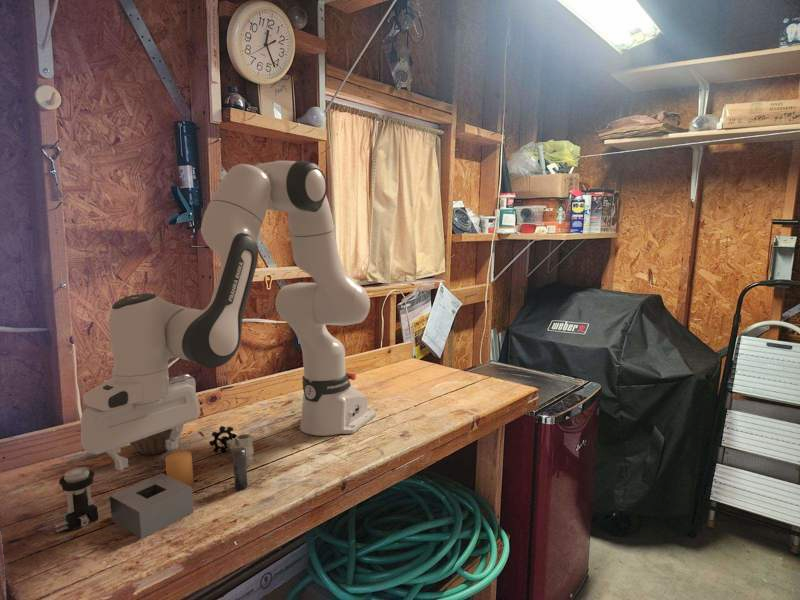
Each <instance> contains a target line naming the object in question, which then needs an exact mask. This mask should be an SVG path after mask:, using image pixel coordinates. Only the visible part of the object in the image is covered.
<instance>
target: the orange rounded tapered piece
mask: <svg viewBox="0 0 800 600" xmlns="http://www.w3.org/2000/svg"><path fill="white" fill-rule="evenodd" d="M193 470H194V469H193V457H192V453H191V452H189V451H178V452H177V451H175V452H173V453H170V454H169V455H167V456H166V457H165V472H166V476H169V477H171V478H173V479H175V480H178V481H180V482H182V483H184V484H186V485H189V486H192V485H191V484H192V483H193V484H194V473H193V472H194V471H193Z"/></svg>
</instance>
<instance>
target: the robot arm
mask: <svg viewBox="0 0 800 600" xmlns="http://www.w3.org/2000/svg"><path fill="white" fill-rule="evenodd" d="M327 186H328V183H327V178H326V175H325V174H324V172H323V171H322V168H320V167H319V165H318V164H316V163H314V162H310V161H306V160H298V161H295V160H275V161H269V162H263V163H262V162H257V163H253V164H247V163H239V164H236V165H233V166H232V167H230V169H228V171H227V173H226V174H225V175H224V177H223V178H222V180H221V181H220V183H218V186H217V188H216V189H215V191H214V193H213V195H212V196H211V200H210V201H209V202H208V204H207V206H206V209H205V212H204V214H203V217H202V221H201V226H200V233H201V236H202V238H203V241H204V242H205V244H206V245H207V246H208V248H209V249H210V250H211V251H213V252H214V253H215V254H216V255H218V257H219V259H220V270H219V272H218V276H217V280H216V283H215V285H214V288H213V293H212V296H211V300H210V302H209V304H208V305H207V306H206V307H205V308H204V309H197V308H192V307H186V306H181V305H179V304H174V303H172V302H170V301H167V300H165V299H163V298H161V297H160V296H158V294H155V293H150V292H149V293H148V292H147V293H140V294H131V295H128V296H125V297H123V298H121V299H119V300H117V301H116V302H114V303H113V304H112V306H111V309H110V312H109V320H108V332H109V333H108V334H109V348H110V352H111V354H112V356H113V366H112V371H111V372H112V373H111V374H112V377H111V378H109V379H108V380H106V381H104V382H102V383H101V384H99V385H98V386H97V385H96V386H95V387H94V388H92V389H90V390H89V391H86V392H85V393H84V394H83V396H82V401H83V403H84V405H86V408H85V410H84V411H83V412H82V415H81V420H80V440H81V441H80V443H81V444H80V445H81V447H82V448H83V449H84V451H86V452H88V453H90V454H92V455H96V456H98V455H100V454H103V453H107V454H108V456H110V457H111V459H112V460H114V468H115V470H117V471H119V472H121V471H123V470H125V469H128V468H129V466H130V465H129V464H128V463H129V458H127V457H125V456H123V455H122V456H120V455H119V453H121V452H122V449H121V448H122V446H123V447H124V446H126V445H130V444H129V443H132V442H134V441H137V440H140V439H143V438H146V437H149V436H151V435H154V434H157V433H160V432H163V431H166V430H168V429H171V430H172V432H171V435H170V438H169V439H168V440H166V441H165V442H166V449H167V450H166V451H170V452H171V451H174V450H177V449H178V448H179V439H180V437H181V435H182V432H183V430H184V425H186V424H188V423H191V422H193V421H197V419H198V418H199V416H200V413H201V412H200V405H199V399H198V395H197V392H196V385H197V383H196V379H195V378H194V377H193V376H192V375H190V374H188V373H184V374H180V375H178V376H170V377H169V360H170V359H175V358H178V359H180V360H181V359H182V360H186V361H189V362H192V363H194V364H196V365H199V366H201V367H203V368H208V369H211V368H212V369H213V368H214V369H215V368H220V367H222V366H223V365H225V364H227V363H228V362H230V360H232V359H233V357H235V355H236V354H237V352H238V349H239V348H240V345H241V341H242V330H243V328H242V327H243V319H244V312H245V309H246V305H247V302H248V298H249V294H250V291H251V289H252V288H251V287H252V284H253V279H254V276H255V273H256V268H257V264H258V261H259V260H258V259H259V247H258V244H257V243H258V237H259V234H260V231H261V228H262V226H263V223H264V219H265V217H266V214H267V212H268V211H273V212H286V213H287V220H288V221H287V222H288V230H289V237H290V243H291V250H292V257H293V261H294V263H295V265H296V267H297V268H298V269H300V270H301V271H303V272H304V273H306V274H307V275H309V276H310V277H311V278H312V279H313V281H314V282H296V283H291V284H285V285H283V286H282V287H281V288H280V289H279V291H278V293H277V294H276V295H277V296H276V297H275V309H276V311H277V314H278V316H279V317H280V319H282V320H283V321H284V322H285V323H287V325H289V326H290V327H291V329H292V330H293V331H294V333H295V335H296V337H297V339H298V341H299V345H300V347H301V352H302V362H303V376H302V382H301V383H302V391H303V395H302V407H301V408H302V409H301V415H300V417H299V420H300V424H299V429H300V431H301V432H303V433H305V434H308V435H313V436H322V437H323V436H333V435H341V434H342V435H343V434H345V435H347V434H354V433H355V432H356V431H358V430H359V429H361V428H362V427H363V426H364V425H365V424H367V423H368V422H369V421H371V420H372V419H373V418H374V417H375V416H377V412H376V410H374V409H373V408H371V407H368V399H367V397H366V395H365V394H364V392H362V391H360V390H358V389H357V388H356V387H354V386H353V385H351V382H350V380H352V381H355V380H356V378H357V373H356V372H351V371H350V372H349V371H348V373H347V371H346V349H345V346H344V345H343V343H342V341H341V340H339V339H338V338H336V337H335V336H333V335H332V334H331V333H330V332H329V331H328V328H327V325H328V326H329V325H330V326H343V327H344V326H349V325H356V324H361V323H362V322H364V321H365V320H366V318H367V317H368V316H369V312H370V310H371V309H370V308H371V299H370V295H369V293H368V292H367V290H366V289H365V288H364V287H363V286H361V285H360V284H358V282H356V281H354V280H353V278H352V277H351V275H349V274H348V272H347V271H346V269H345V267H344V265H343V263H342V261H341V258H340V254H339V250H338V244H337V240H336V238H337V237H336V233H335V232H336V231H335V224H334V219H333V214H332V210H331V209H332V208H331V206H330V202H329V200H328V199H329V198H328V197H327V190H328V189H327V188H328V187H327Z"/></svg>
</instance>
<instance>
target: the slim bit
mask: <svg viewBox="0 0 800 600" xmlns="http://www.w3.org/2000/svg"><path fill="white" fill-rule="evenodd" d="M231 453H232V466H233V469H232V470H233V485H234V490H235V491H242V490H246V489H247V488H248V486H249V484H248V481H249V480H248V467H247V463H246V449H245V448H236V449H234V450H233V451H232V452H231Z"/></svg>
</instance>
